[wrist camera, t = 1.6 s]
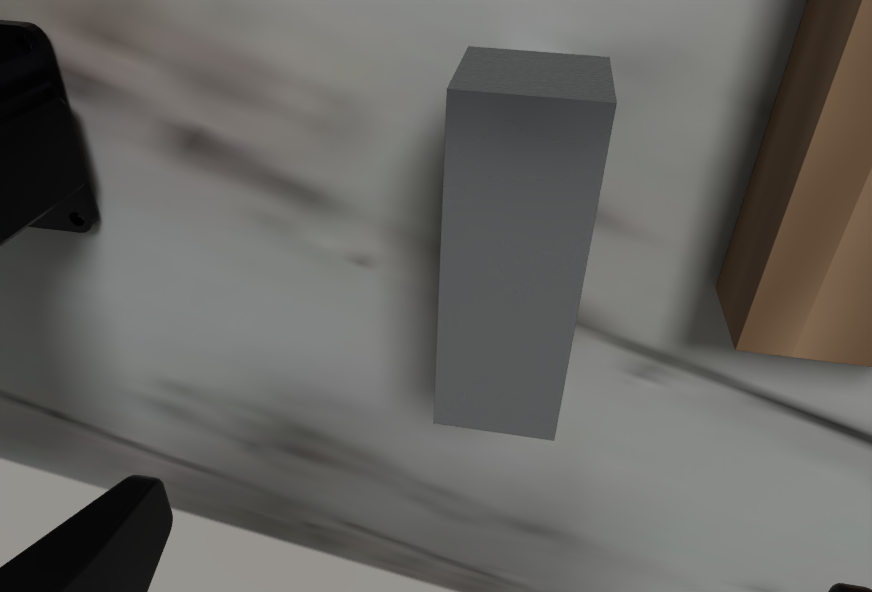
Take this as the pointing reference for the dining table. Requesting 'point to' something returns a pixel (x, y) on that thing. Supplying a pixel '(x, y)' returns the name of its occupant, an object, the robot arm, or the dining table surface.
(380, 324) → the dining table surface
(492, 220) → the grey block
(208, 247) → the dining table surface
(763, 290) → the rail
